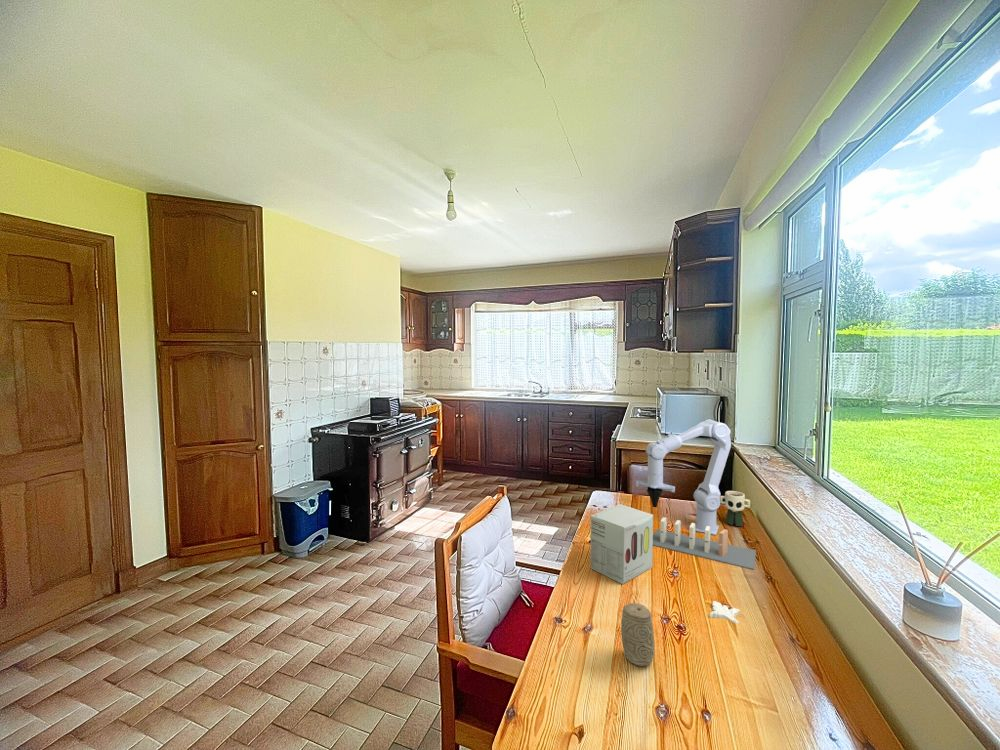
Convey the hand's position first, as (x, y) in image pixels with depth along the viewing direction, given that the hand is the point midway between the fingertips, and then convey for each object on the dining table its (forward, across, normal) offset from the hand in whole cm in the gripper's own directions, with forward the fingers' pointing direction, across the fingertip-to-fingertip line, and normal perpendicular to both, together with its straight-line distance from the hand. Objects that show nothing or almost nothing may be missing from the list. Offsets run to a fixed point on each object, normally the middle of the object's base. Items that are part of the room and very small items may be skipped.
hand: (654, 506), depth 166 cm
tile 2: (+10, +10, -8) cm, 16 cm away
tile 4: (+9, +20, -8) cm, 24 cm away
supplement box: (+10, -2, -36) cm, 37 cm away
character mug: (+10, +26, +24) cm, 37 cm away
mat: (+10, +18, -6) cm, 21 cm away
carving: (+10, +14, -75) cm, 77 cm away
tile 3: (+9, +15, -8) cm, 20 cm away
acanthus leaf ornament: (+11, +29, -45) cm, 55 cm away
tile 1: (+10, +5, -8) cm, 13 cm away
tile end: (+9, +25, -8) cm, 28 cm away
